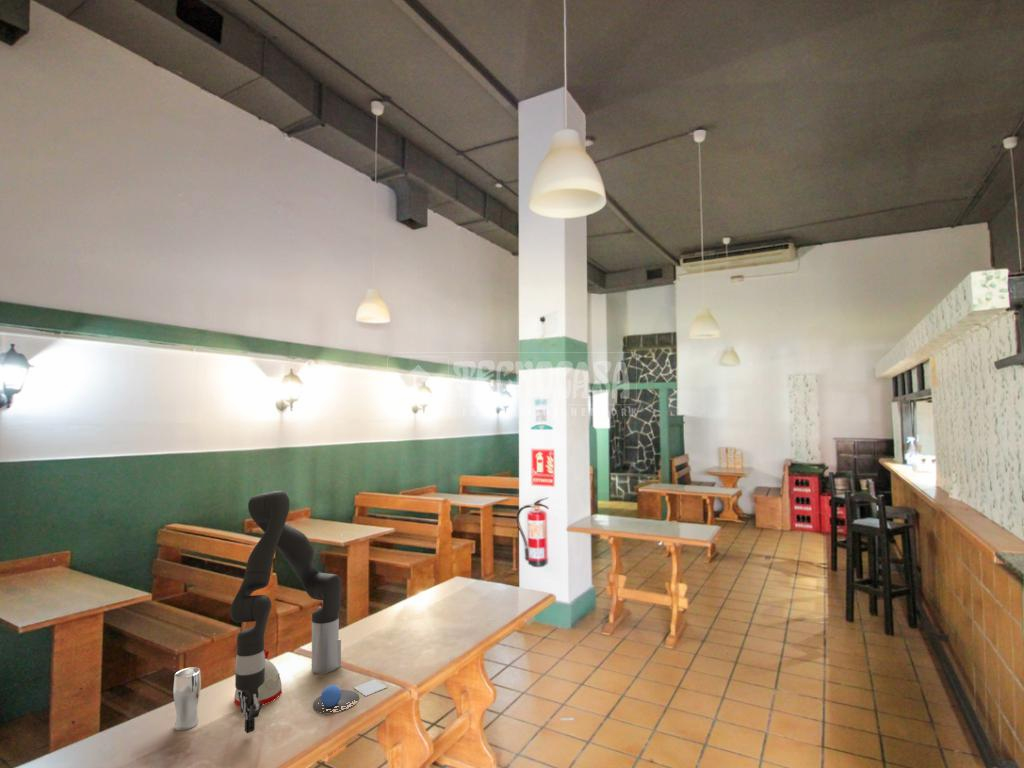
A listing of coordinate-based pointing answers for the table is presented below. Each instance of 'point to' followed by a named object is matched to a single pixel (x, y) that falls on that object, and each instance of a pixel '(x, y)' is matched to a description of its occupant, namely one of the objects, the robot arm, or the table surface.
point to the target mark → (345, 698)
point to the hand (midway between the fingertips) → (249, 731)
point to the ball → (331, 696)
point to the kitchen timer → (267, 684)
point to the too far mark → (370, 687)
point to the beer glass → (186, 697)
